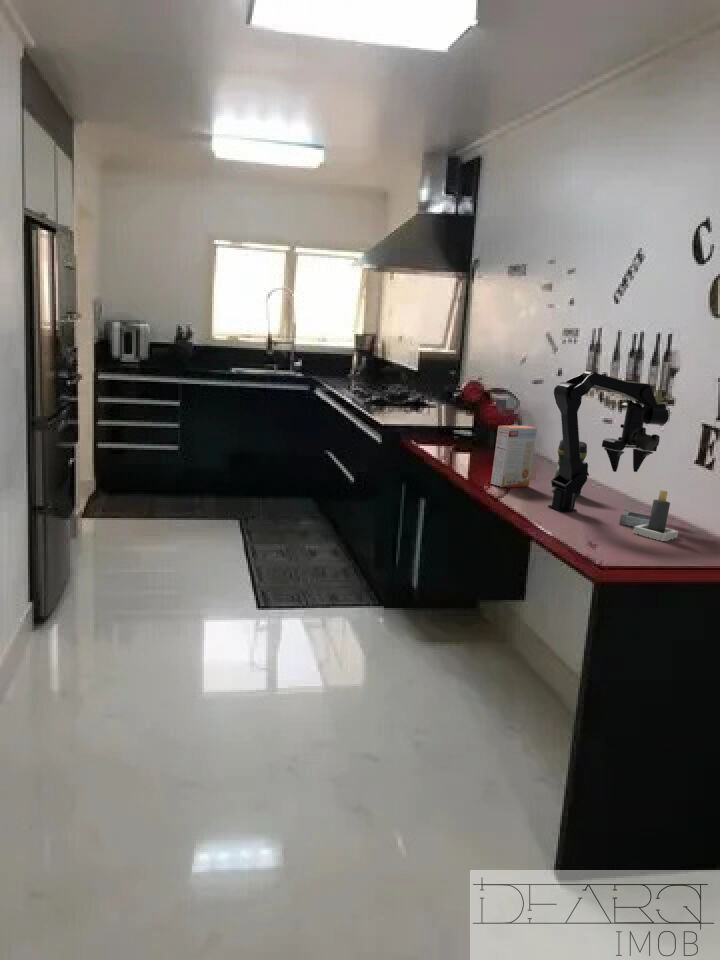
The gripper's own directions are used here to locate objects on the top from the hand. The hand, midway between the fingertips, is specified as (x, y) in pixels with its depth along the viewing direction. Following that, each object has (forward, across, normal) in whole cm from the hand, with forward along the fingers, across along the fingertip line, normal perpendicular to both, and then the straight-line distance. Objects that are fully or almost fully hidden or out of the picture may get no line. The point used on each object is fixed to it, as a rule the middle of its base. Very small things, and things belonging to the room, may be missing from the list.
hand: (624, 471), depth 252 cm
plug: (+13, -12, -25) cm, 31 cm away
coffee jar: (+13, 0, +24) cm, 27 cm away
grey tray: (+13, -6, -16) cm, 21 cm away
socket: (+13, -12, -26) cm, 31 cm away
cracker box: (+13, -15, +36) cm, 41 cm away
